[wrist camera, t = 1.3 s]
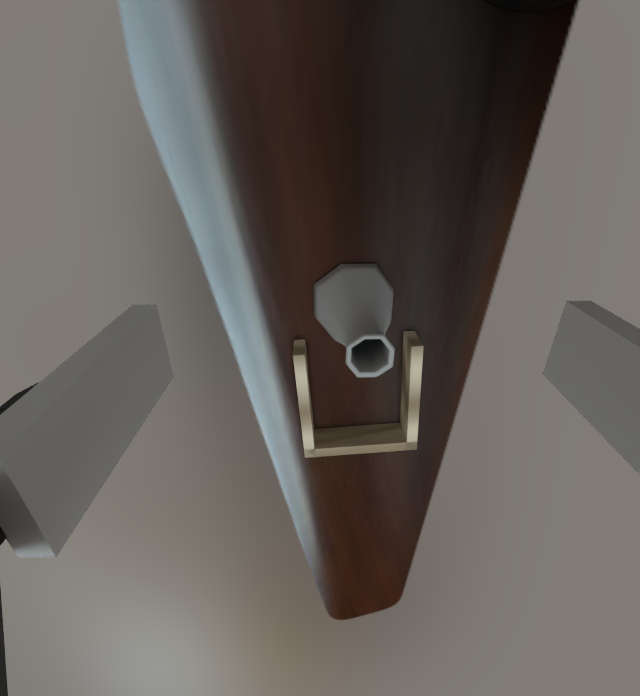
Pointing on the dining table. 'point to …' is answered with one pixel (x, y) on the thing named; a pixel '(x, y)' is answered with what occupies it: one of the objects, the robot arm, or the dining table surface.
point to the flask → (357, 315)
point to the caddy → (363, 435)
